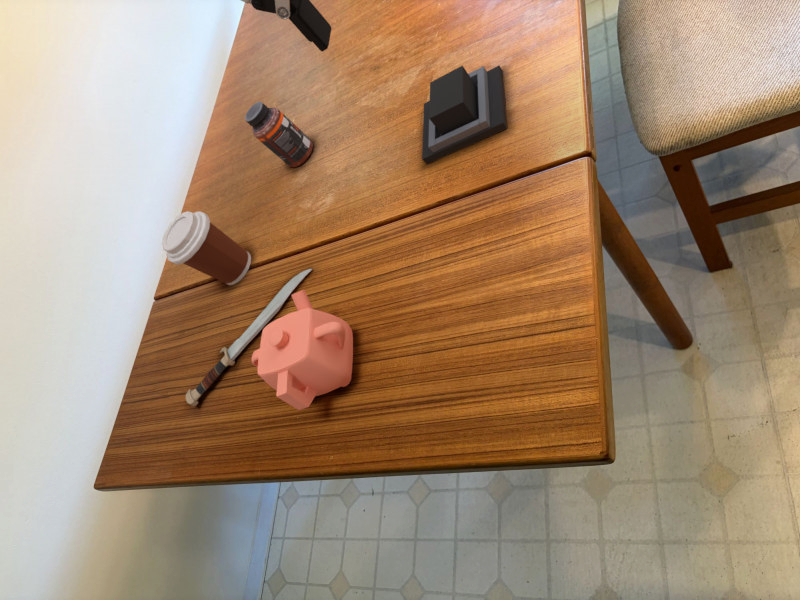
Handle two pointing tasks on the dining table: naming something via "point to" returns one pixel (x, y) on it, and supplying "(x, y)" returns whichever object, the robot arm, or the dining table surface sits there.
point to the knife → (244, 339)
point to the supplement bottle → (279, 134)
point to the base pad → (483, 127)
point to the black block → (453, 101)
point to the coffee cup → (205, 248)
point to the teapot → (305, 353)
